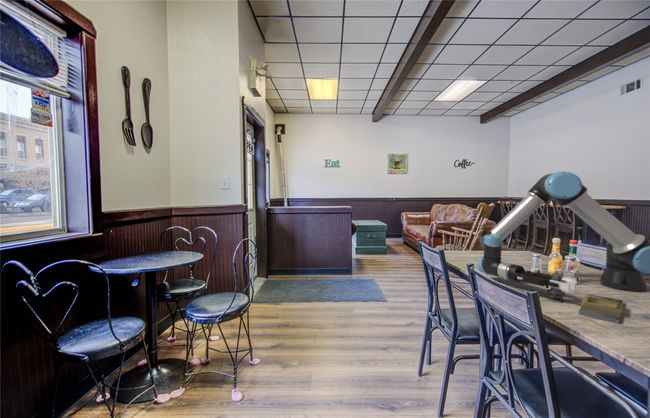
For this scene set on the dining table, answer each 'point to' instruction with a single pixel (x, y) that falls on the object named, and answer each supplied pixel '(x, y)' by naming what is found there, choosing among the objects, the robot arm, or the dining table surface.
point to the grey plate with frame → (601, 308)
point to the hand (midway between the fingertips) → (572, 287)
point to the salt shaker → (556, 290)
